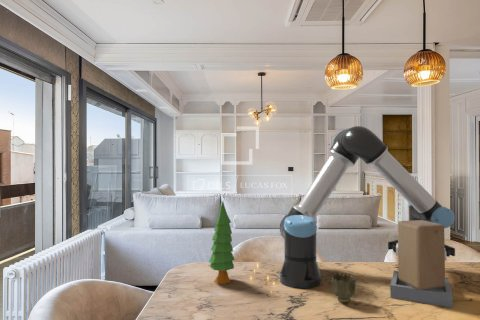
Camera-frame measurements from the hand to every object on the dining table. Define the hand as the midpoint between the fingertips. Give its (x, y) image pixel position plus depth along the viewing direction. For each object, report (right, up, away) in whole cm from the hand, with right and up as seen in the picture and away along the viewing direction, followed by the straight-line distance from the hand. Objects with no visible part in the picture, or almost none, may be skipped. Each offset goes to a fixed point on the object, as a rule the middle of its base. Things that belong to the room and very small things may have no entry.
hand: (420, 253), depth 109 cm
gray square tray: (+1, -14, +3) cm, 14 cm away
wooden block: (0, -10, 0) cm, 10 cm away
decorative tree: (-65, -15, +16) cm, 69 cm away
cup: (-26, -14, -4) cm, 30 cm away
